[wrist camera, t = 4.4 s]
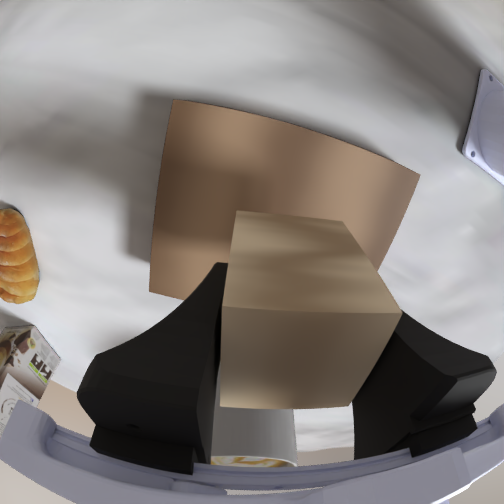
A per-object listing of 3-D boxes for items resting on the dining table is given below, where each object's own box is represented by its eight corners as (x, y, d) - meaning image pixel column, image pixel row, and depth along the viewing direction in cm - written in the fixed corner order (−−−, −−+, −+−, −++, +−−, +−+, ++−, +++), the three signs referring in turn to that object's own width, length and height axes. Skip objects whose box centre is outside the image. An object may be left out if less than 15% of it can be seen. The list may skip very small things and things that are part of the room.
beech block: (342, 221, 11) (402, 313, 6) (320, 303, 14) (348, 406, 8) (236, 210, 11) (222, 306, 6) (230, 298, 13) (220, 406, 8)
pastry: (-5, 196, 17) (-30, 212, 14) (40, 214, 18) (13, 234, 15) (5, 273, 21) (-14, 293, 18) (46, 295, 22) (28, 318, 19)
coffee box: (33, 323, 24) (-26, 426, 10) (62, 359, 28) (18, 459, 13) (4, 325, 26) (-47, 408, 12) (29, 358, 29) (-12, 439, 15)
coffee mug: (294, 359, 25) (305, 453, 16) (286, 406, 30) (292, 479, 21) (159, 356, 25) (135, 443, 17) (179, 404, 30) (167, 473, 22)
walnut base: (397, 163, 16) (420, 174, 13) (335, 303, 22) (343, 329, 19) (187, 100, 14) (173, 99, 12) (161, 267, 20) (149, 291, 18)
